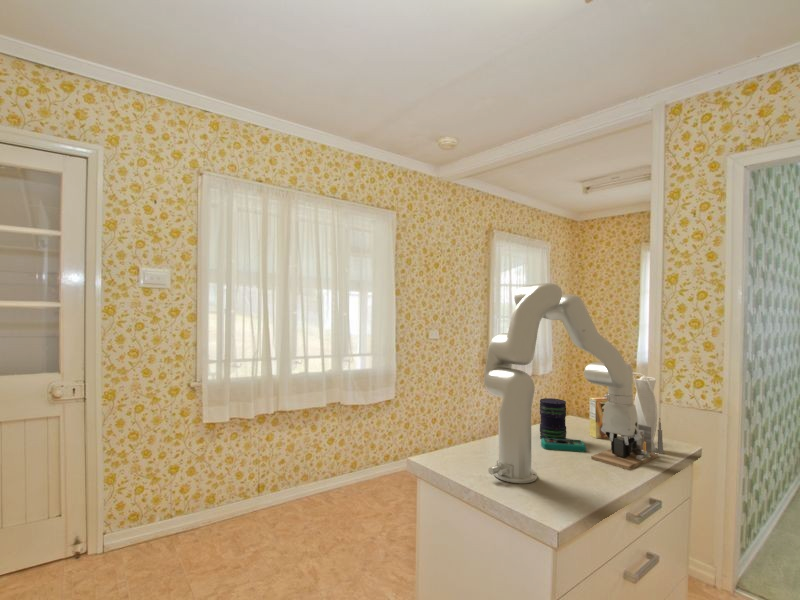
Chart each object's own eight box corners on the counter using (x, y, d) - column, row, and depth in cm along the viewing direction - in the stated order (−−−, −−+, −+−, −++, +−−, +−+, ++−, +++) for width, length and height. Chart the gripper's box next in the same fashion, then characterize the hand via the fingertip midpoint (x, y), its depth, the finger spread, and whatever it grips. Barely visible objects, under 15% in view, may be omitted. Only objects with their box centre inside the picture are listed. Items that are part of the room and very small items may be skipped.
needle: (645, 454, 138) (644, 442, 138) (640, 453, 139) (639, 441, 140) (646, 454, 139) (646, 442, 139) (641, 452, 140) (641, 440, 140)
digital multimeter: (540, 444, 157) (540, 436, 157) (582, 447, 154) (582, 439, 154) (542, 450, 150) (542, 442, 150) (586, 453, 147) (586, 445, 147)
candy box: (608, 434, 170) (607, 396, 170) (615, 437, 166) (615, 398, 166) (589, 435, 168) (588, 397, 168) (596, 438, 164) (595, 399, 164)
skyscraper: (638, 453, 147) (637, 373, 148) (629, 446, 155) (628, 371, 156) (664, 454, 146) (663, 374, 147) (654, 447, 153) (653, 371, 155)
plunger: (632, 459, 135) (631, 442, 135) (614, 454, 140) (614, 438, 140) (650, 452, 143) (649, 436, 143) (632, 447, 147) (632, 432, 147)
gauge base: (628, 469, 130) (627, 438, 130) (591, 459, 140) (591, 429, 140) (657, 457, 142) (657, 428, 143) (622, 448, 152) (621, 420, 152)
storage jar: (534, 436, 165) (534, 398, 166) (555, 434, 168) (554, 397, 169) (550, 444, 156) (550, 403, 157) (572, 441, 159) (571, 402, 160)
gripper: (591, 396, 145) (591, 450, 144) (640, 405, 131) (641, 464, 131) (602, 394, 149) (602, 446, 148) (651, 402, 136) (652, 459, 135)
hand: (620, 454), depth 139 cm, fingers closed on plunger, 3 cm apart
